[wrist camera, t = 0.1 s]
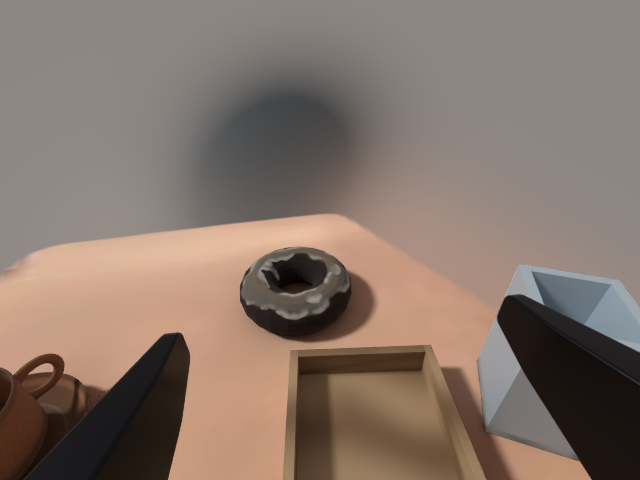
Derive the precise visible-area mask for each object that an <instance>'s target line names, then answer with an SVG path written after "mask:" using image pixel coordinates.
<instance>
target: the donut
mask: <svg viewBox="0 0 640 480" xmlns="http://www.w3.org/2000/svg"><path fill="white" fill-rule="evenodd" d="M293 281H304V282H308V283H310V284H312V285H313V286H312V287H310V288H308V289H306V290H303V291H299V292H288V291H284V290H281V289H279V288H280V287H281V286H282V285H284V284H286V283H289V282H293ZM350 296H351V280H350V277H349V275H348V273H347V271H346V269H345V267H344V265H343V264H342V263H341V262H340V261H339V260H337V259H336V258H335V257H334V256H332V255H330V254H328V253H326V252H324V251H322V250H318V249H315V248H308V247H289V248H284V249H280V250H276V251H273V252H271V253H268V254H266V255H264V256H263V257H261V258H260V259H258V260H257V261H255V262H254V263H253V264H252V265H251V267H250V268H249V269H248V270H247V271H246V273H245V275H244V277H243V280H242V282H241V285H240V301H241V304H242V306H243V308H244V310H245V312H246V314H247V316H248V317H249V318H250V319H252V320H253V321H254V322H255V323H256V324H257V325H258V326H260V327H262V328H264V329H266V330H269V331H271V332H273V333H279V334H285V335H297V334H307V333H310V332H313V331H317V330H320V329H322V328H324V327H326V326H327V325H329V324H330V323H332V322H334V321H335V320H336V319H337V318H338V317H339V315H340V314H341V313H342V312H343V311H344V310H345V308H346V307H347V304H348V301H349V299H350Z"/></svg>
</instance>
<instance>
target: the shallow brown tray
mask: <svg viewBox="0 0 640 480" xmlns="http://www.w3.org/2000/svg"><path fill="white" fill-rule="evenodd" d="M283 480H486V478H485V475H484V473H483V470H482V468H481V465H480V463H479V461H478V458H477V456H476V453H475V451H474V448H473V446H472V444H471V441H470V439H469V436H468V434H467V431H466V429H465V427H464V424H463V422H462V419H461V417H460V414H459V412H458V410H457V407H456V405H455V402H454V400H453V397H452V395H451V393H450V390H449V388H448V385H447V383H446V381H445V378H444V376H443V373H442V371H441V368H440V366H439V364H438V361H437V359H436V356H435V354H434V351H433V349H432V347H431V345H416V346H391V347H365V348H340V349H314V350H291V351H290V368H289V385H288V402H287V418H286V435H285V452H284V469H283Z"/></svg>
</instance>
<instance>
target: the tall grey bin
mask: <svg viewBox="0 0 640 480" xmlns="http://www.w3.org/2000/svg"><path fill="white" fill-rule="evenodd" d="M515 294H522V295H525V296H527V297H529V298H531V299H533V300H535V301H537V302H539V303H541V304H543V305H545V306H547V307H549V308H551V309H553V310H555V311H557V312H559V313H561V314H563V315H565V316H567V317H569V318H571V319H573V320H575V321H578V322H580V323H582V324H584V325H586V326H588V327H590V328H592V329H594V330H596V331H598V332H600V333H602V334H604V335H606V336H608V337H610V338H612V339H614V340H616V341H618V342H620V343H622V344H624V345H626V346H628V347H630V348H632V349H634V350H636V351H638V352H640V308H639V306H638V305H637V304H636V302H635V301H634V300H633V298H632V297H631V296H630V295H629V293H628V292H627V290H626V289H625V288H624V286H623V285H622V284H621V282H620V281H619V280H614V279H607V278H602V277H595V276H589V275H583V274H577V273H571V272H565V271H559V270H553V269H547V268H540V267H534V266H529V265H522V264H519V265H518V267H517V269H516V272H515V274H514V276H513V279H512V281H511V283H510V286H509V288H508V290H507V293H506V295H505V297H506V296H508V295H515ZM505 297H504V298H505ZM501 305H502V304H501ZM500 307H501V306H500ZM498 312H499V311H498ZM497 314H498V313H497ZM477 363H478V373H479V382H480V391H481V401H482V410H483V419H484V429H485V432H489V433H492V434H495V435H498V436H501V437H505V438H508V439H511V440H514V441H517V442H520V443H524V444H527V445H530V446H533V447H536V448H539V449H543V450H546V451H549V452H552V453H555V454H559V455H562V456H565V457H568V458H571V459H574V460H578V457H577V456H576V454H575V453H574V451H573V449H572V448H571V446H570V445H569V443H568V442H567V440H566V439H565V437H564V435H563V434H562V432H561V431H560V429H559V428H558V426H557V424H556V423H555V421H554V420H553V418H552V417H551V415H550V413H549V412H548V410H547V409H546V407H545V406H544V404H543V402H542V401H541V399H540V398H539V396H538V395H537V393H536V392H535V390H534V388H533V387H532V385H531V384H530V382H529V381H528V379H527V377H526V376H525V374H524V372H523V370H522V369H521V367H520V365H519V363H518V361H517V359H516V357H515V355H514V353H513V351H512V349H511V347H510V346H509V344H508V342H507V340H506V338H505V336H504V334H503V332H502V330H501V328H500V326H499V324H498V321H497V316H496V318H495V320H494V323H493V325H492V327H491V330H490V332H489V334H488V336H487V339H486V341H485V343H484V346H483V348H482V350H481V353H480V355H479V357H478V360H477Z"/></svg>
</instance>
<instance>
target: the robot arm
mask: <svg viewBox="0 0 640 480" xmlns="http://www.w3.org/2000/svg"><path fill="white" fill-rule="evenodd" d="M497 321H498V324H499V326H500V328H501V330H502V332H503V334H504V336H505V338H506V340H507V342H508V344H509V346H510V347H511V349H512V351H513V353H514V355H515V357H516V359H517V361H518V363H519V365H520V367H521V369H522V370H523V372H524V374H525V376H526V377H527V379H528V381H529V382H530V384H531V385H532V387H533V388H534V390H535V392H536V393H537V395H538V396H539V398H540V399H541V401H542V402H543V404H544V406H545V407H546V409H547V410H548V412H549V413H550V415H551V417H552V418H553V420H554V421H555V423H556V424H557V426H558V428H559V429H560V431H561V432H562V434H563V435H564V437H565V439H566V440H567V442H568V443H569V445H570V446H571V448H572V449H573V451H574V453H575V454H576V456H577V457H578V459H579V460H580V462H581V464H582V465H583V467H584V468H585V470H586V471H587V473H588V475H589V476H590V478H591V479H592V480H640V352H638V351H636V350H634V349H632V348H630V347H628V346H626V345H624V344H622V343H620V342H618V341H616V340H614V339H612V338H610V337H608V336H606V335H604V334H602V333H600V332H598V331H596V330H594V329H592V328H590V327H588V326H586V325H584V324H582V323H580V322H578V321H575V320H573V319H571V318H569V317H567V316H565V315H563V314H561V313H559V312H557V311H555V310H553V309H551V308H549V307H547V306H545V305H543V304H541V303H539V302H537V301H535V300H533V299H531V298H529V297H527V296H525V295H522V294H515V295H508V296H506V297H505V298H504V300H503V302H502V305H501V307H500V309H499V312H498V314H497ZM189 365H190V353H189V350H188V347H187V345H186V342H185V340H184V337H183V335H182V334H181V333H179V332H177V333H168V334H164V335H163V336H161V337H160V338H159V339H158V340H157V341H156V342H155V343H154V344H153V346H152V347H151V348H150V349H149V350H148V351H147V352H146V353H145V354H144V355H143V356H142V357H141V358H140V359H139V360H138V361H137V362H136V363H135V364H134V365H133V366H132V367H131V368H130V369H129V370H128V371H127V373H126V374H125V375H124V376H123V377H122V378H121V379H120V380H119V381H118V382H117V383H116V384H115V385H114V386H113V387H112V388H111V389H110V390H109V391H108V392H107V393H106V394H105V395H104V396H103V397H102V399H101V400H100V401H99V402H98V403H97V404H96V405H95V406H94V407H93V408H92V409H91V410H90V411H89V412H88V413H87V414H86V415H85V416H84V417H83V418H82V419H81V420H80V421H79V422H78V423H77V424H76V426H75V427H74V428H73V429H72V430H71V431H70V432H69V433H68V434H67V435H66V436H65V437H64V438H63V439H62V440H61V441H60V442H59V443H58V444H57V445H56V446H55V447H54V448H53V449H52V450H51V452H50V453H49V454H48V455H47V456H46V457H45V458H44V459H43V460H42V461H41V462H40V463H39V464H38V465H37V466H36V467H35V468H34V469H33V470H32V471H31V472H30V473H29V474H28V475H27V476H26V478H25V479H24V480H168V477H169V473H170V469H171V465H172V461H173V457H174V452H175V448H176V444H177V440H178V436H179V432H180V427H181V423H182V417H183V410H184V403H185V395H186V388H187V380H188V373H189Z"/></svg>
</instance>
